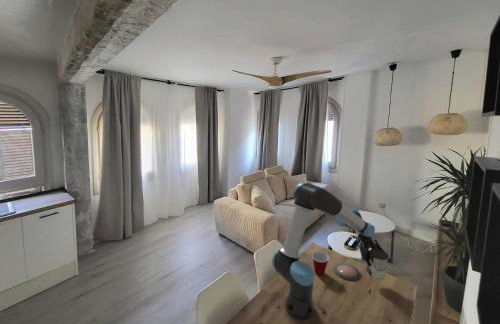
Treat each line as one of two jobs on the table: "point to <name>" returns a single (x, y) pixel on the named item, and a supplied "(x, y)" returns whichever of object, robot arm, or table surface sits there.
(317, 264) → the plastic cup
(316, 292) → the table surface
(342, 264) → the round plate
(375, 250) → the coffee can
